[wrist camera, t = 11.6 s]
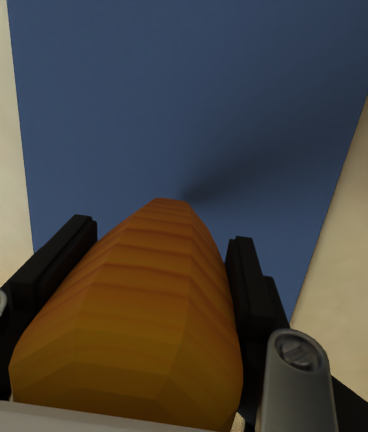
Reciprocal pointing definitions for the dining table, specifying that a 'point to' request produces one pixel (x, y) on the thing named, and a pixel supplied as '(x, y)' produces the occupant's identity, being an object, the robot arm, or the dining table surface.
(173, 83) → the towel
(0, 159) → the dining table surface
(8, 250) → the dining table surface
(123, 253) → the carrot
